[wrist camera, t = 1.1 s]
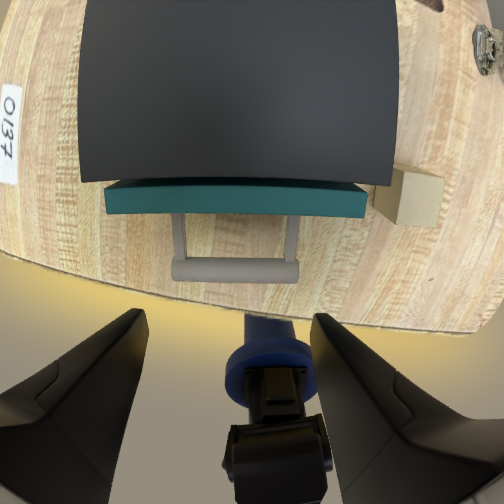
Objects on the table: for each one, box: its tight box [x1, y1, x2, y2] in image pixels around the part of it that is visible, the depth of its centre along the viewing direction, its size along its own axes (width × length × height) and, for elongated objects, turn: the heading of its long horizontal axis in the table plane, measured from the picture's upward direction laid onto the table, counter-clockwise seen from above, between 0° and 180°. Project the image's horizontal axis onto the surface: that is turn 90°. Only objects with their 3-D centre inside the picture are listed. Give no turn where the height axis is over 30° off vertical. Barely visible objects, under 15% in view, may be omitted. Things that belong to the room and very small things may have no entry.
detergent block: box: [373, 164, 445, 228], centre depth 18 cm, size 4×4×4 cm
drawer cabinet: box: [78, 0, 399, 187], centre depth 12 cm, size 15×13×10 cm
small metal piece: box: [472, 25, 504, 75], centre depth 13 cm, size 6×2×3 cm, turn 166°
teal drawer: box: [104, 177, 368, 283], centre depth 14 cm, size 18×11×8 cm, turn 178°
